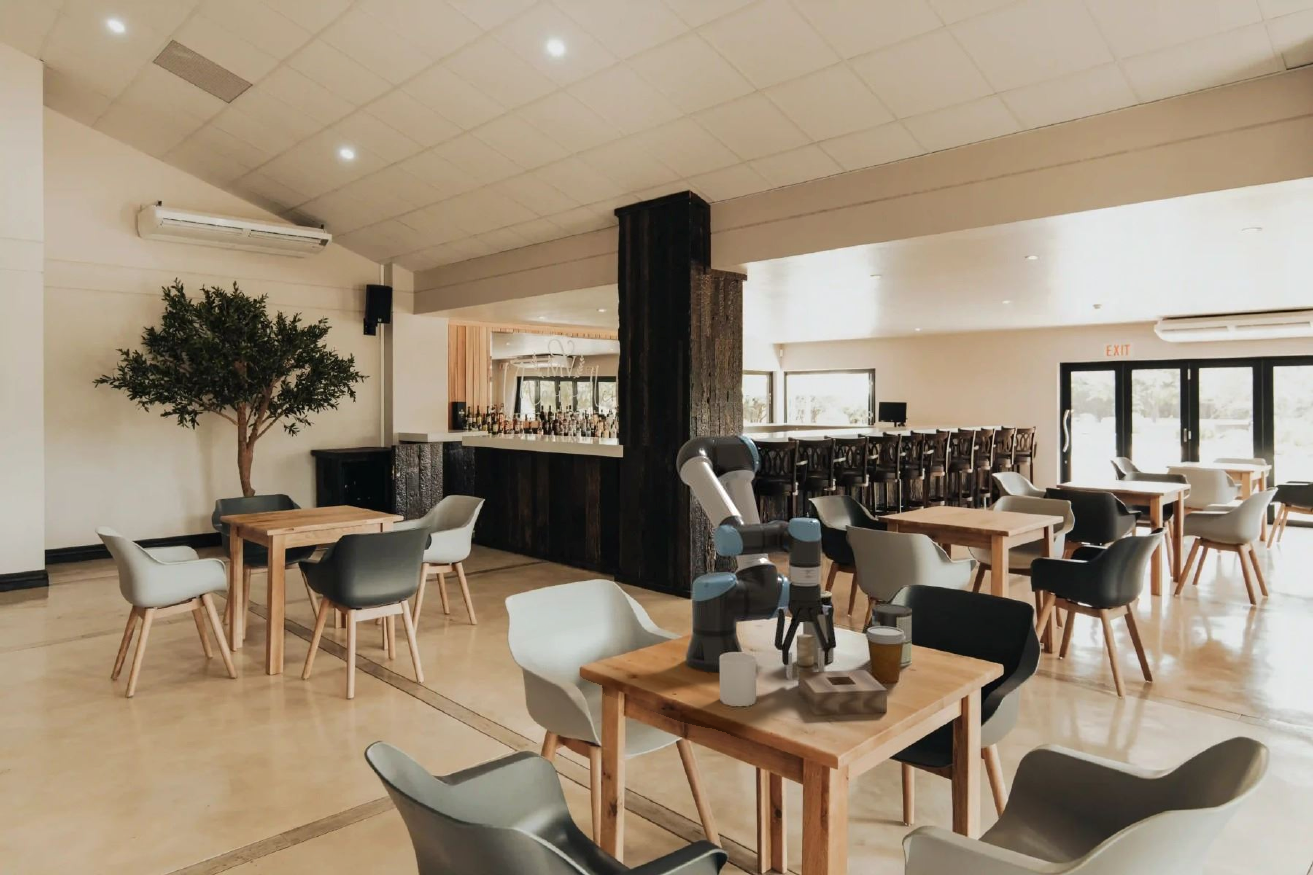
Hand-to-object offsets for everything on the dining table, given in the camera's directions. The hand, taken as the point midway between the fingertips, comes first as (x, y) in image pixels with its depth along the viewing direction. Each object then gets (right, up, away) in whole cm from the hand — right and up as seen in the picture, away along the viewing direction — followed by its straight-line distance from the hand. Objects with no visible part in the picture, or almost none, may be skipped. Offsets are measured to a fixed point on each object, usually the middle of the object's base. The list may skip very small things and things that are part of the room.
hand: (805, 677), depth 192 cm
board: (+6, -2, -12) cm, 13 cm away
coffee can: (+27, -2, +19) cm, 33 cm away
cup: (-16, -3, -8) cm, 19 cm away
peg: (0, -2, 0) cm, 2 cm away
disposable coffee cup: (+21, -2, +5) cm, 21 cm away
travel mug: (+7, -2, +21) cm, 22 cm away
